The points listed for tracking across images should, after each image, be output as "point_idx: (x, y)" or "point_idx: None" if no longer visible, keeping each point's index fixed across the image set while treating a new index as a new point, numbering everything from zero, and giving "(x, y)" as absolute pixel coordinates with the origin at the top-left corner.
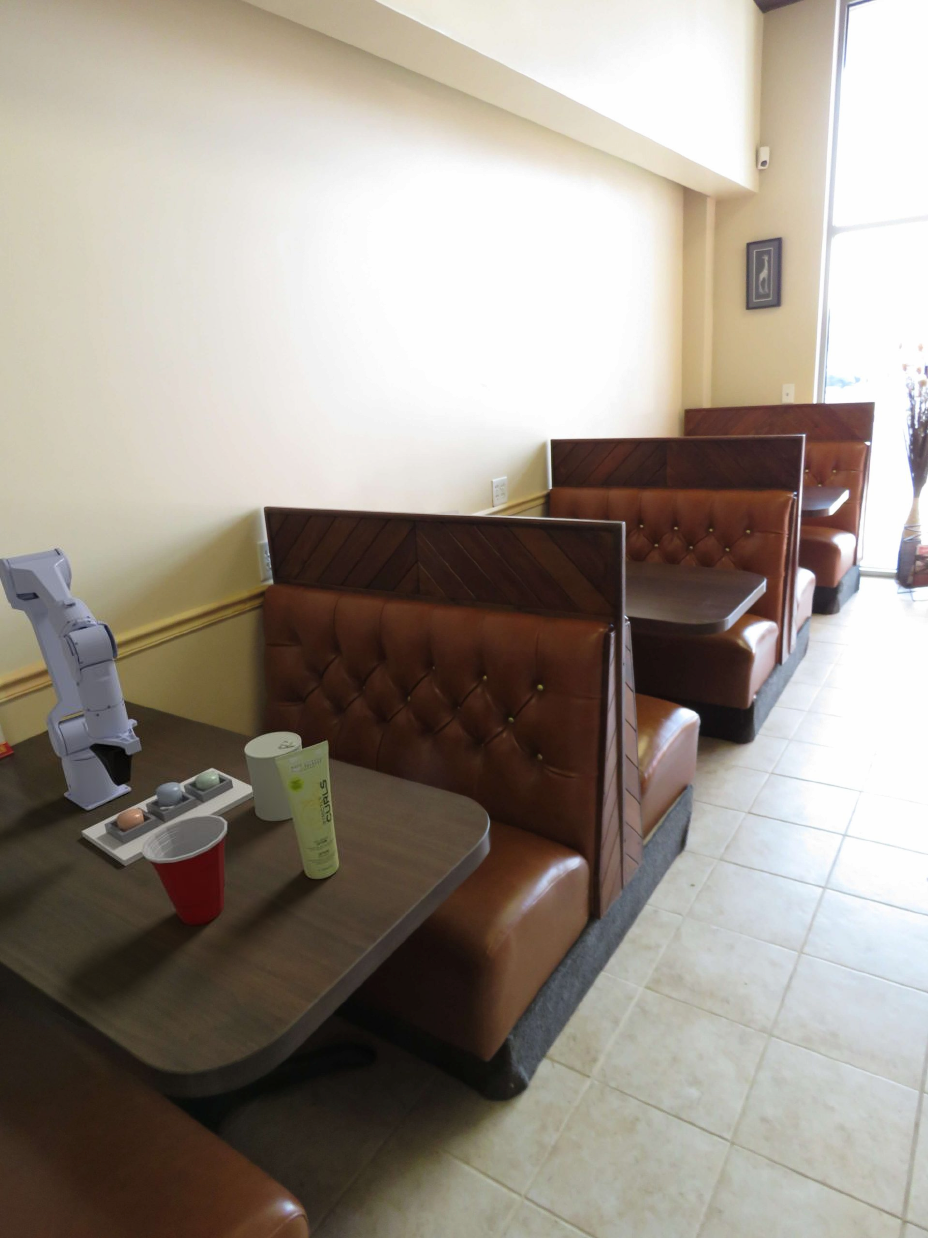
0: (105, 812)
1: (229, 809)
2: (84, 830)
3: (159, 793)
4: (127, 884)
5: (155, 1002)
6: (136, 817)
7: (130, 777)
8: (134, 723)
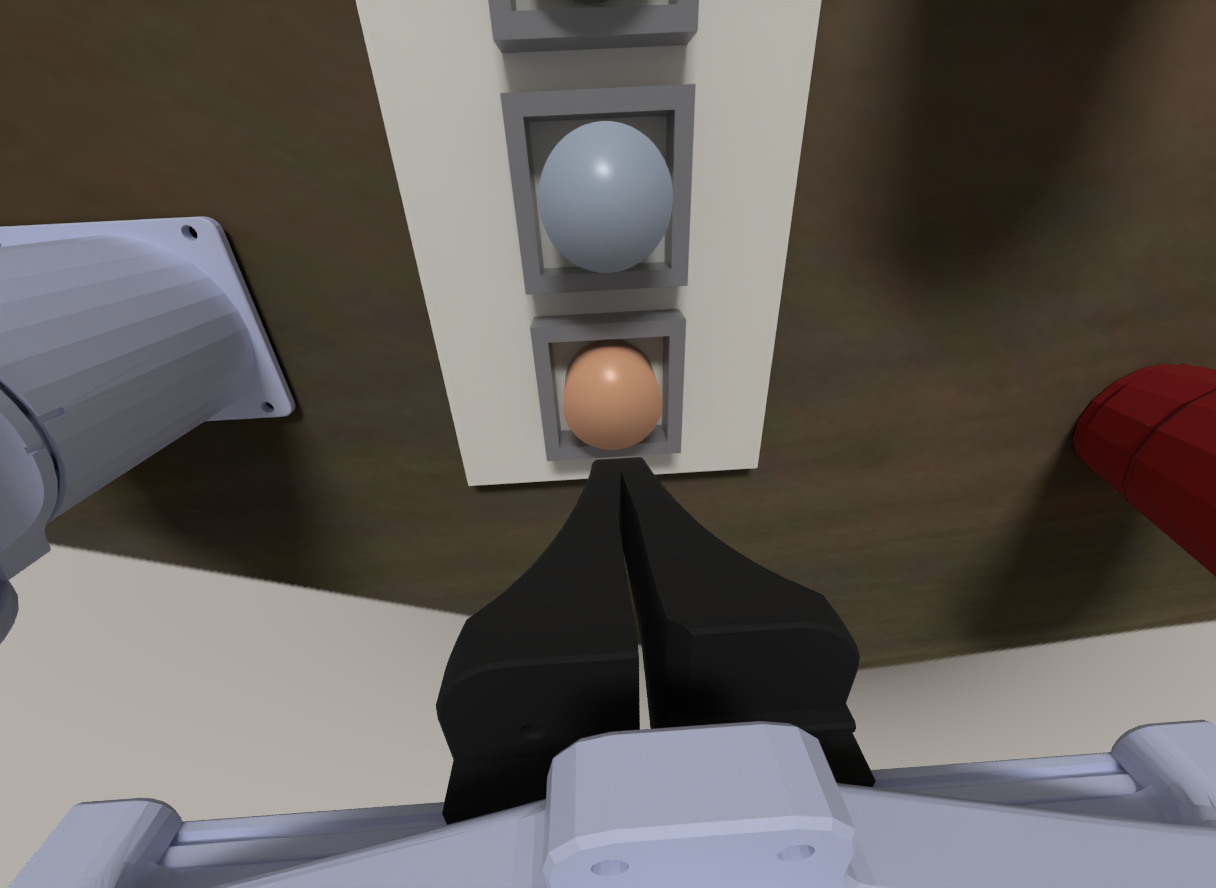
0: (350, 370)
1: None
2: (470, 479)
3: (621, 265)
4: (830, 484)
5: (1181, 578)
6: (657, 396)
7: (647, 465)
8: (850, 833)
